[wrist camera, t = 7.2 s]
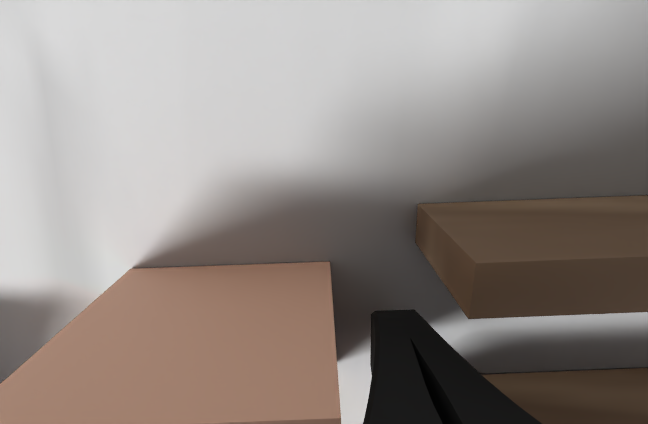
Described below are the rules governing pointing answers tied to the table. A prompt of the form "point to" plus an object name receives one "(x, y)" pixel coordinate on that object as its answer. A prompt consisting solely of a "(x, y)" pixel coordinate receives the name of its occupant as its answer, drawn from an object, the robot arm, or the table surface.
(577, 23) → the table surface
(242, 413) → the block
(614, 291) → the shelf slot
